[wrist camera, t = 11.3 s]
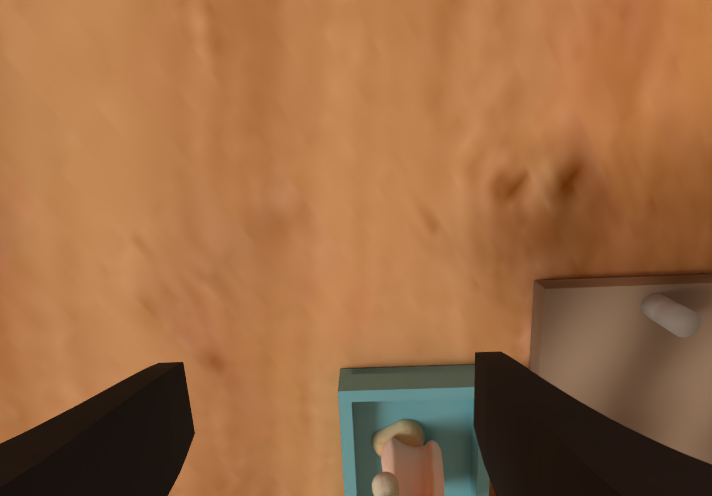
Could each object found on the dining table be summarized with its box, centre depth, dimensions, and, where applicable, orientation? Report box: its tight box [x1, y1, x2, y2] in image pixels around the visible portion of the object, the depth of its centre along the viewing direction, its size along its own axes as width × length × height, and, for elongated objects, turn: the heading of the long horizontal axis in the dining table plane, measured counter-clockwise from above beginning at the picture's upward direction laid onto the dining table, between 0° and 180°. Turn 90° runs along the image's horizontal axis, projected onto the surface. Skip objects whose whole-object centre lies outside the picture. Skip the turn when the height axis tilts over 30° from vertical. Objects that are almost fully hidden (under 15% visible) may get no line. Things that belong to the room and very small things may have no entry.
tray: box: [338, 364, 490, 496], centre depth 22 cm, size 7×11×2 cm, turn 3°
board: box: [529, 274, 712, 465], centre depth 21 cm, size 10×14×3 cm
